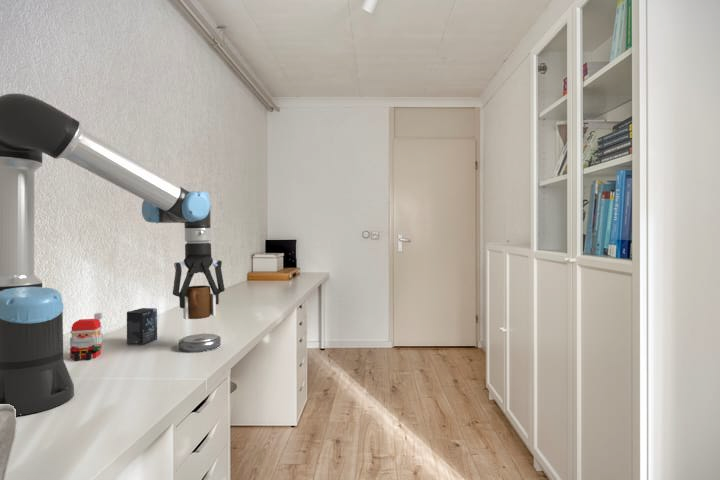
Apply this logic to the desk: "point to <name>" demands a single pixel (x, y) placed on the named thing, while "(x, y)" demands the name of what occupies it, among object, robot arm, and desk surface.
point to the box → (141, 326)
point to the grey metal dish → (199, 343)
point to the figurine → (86, 338)
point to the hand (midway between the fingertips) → (199, 316)
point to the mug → (199, 302)
